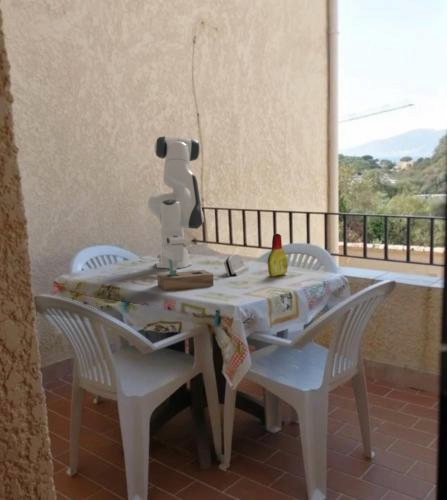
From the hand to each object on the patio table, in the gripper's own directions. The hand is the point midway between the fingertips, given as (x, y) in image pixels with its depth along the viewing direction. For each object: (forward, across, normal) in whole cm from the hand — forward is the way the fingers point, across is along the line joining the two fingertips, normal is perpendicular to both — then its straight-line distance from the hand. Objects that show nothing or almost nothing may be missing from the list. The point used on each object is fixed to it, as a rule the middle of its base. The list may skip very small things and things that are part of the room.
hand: (172, 269), depth 224 cm
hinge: (+8, -17, +37) cm, 41 cm away
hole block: (+8, 0, +5) cm, 9 cm away
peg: (+6, 0, 0) cm, 6 cm away
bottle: (+8, -1, +51) cm, 52 cm away
